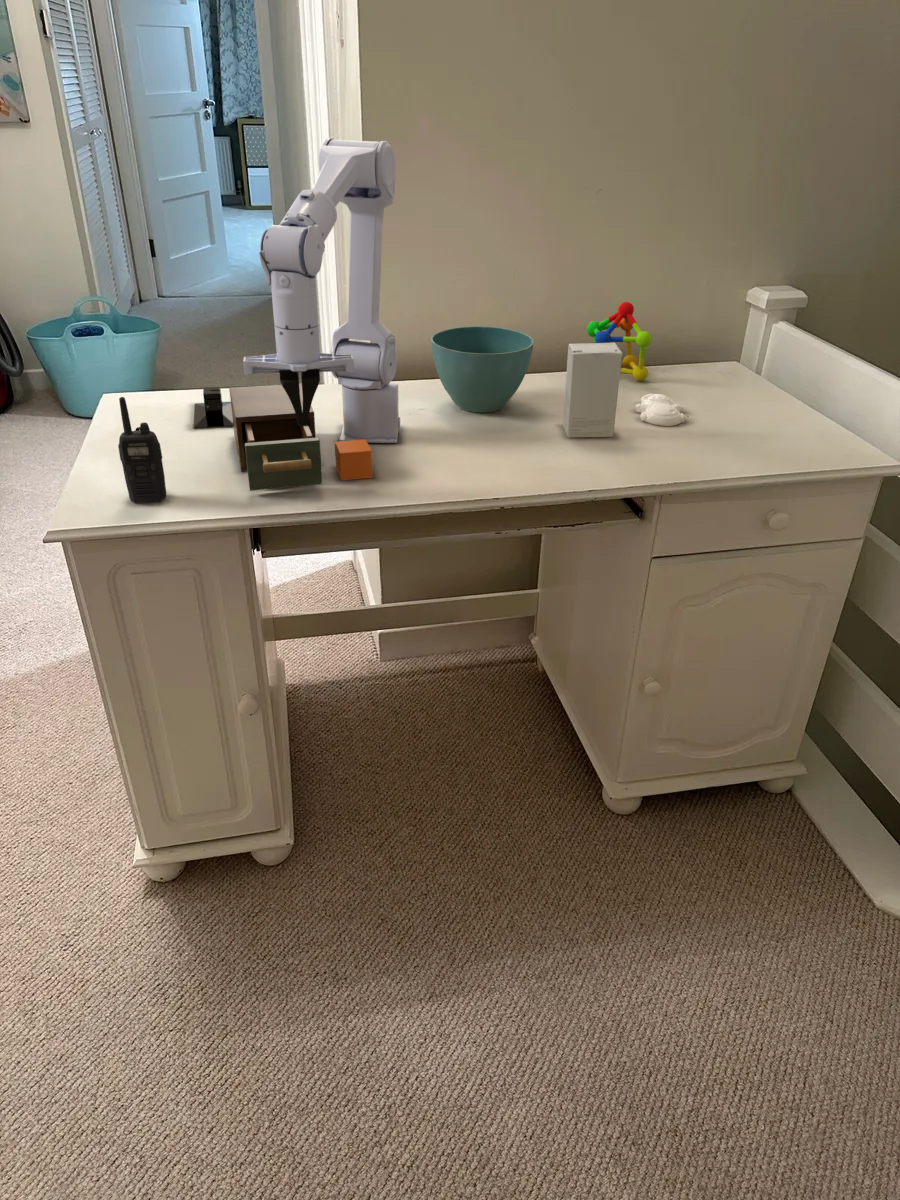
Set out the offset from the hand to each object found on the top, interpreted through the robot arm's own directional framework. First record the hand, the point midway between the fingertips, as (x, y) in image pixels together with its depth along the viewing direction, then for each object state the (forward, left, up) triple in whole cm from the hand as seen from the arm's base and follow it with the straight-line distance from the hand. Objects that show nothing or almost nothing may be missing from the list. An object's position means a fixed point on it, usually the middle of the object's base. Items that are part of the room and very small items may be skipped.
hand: (303, 423), depth 120 cm
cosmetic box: (-45, -26, -11) cm, 53 cm away
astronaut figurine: (-60, -36, -11) cm, 71 cm away
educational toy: (-56, -59, -11) cm, 82 cm away
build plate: (+20, -31, -10) cm, 38 cm away
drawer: (+4, -3, -10) cm, 11 cm away
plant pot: (-27, -39, -11) cm, 49 cm away
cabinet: (+7, -15, -10) cm, 20 cm away
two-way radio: (+22, +3, -11) cm, 25 cm away
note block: (-6, -7, -10) cm, 14 cm away
